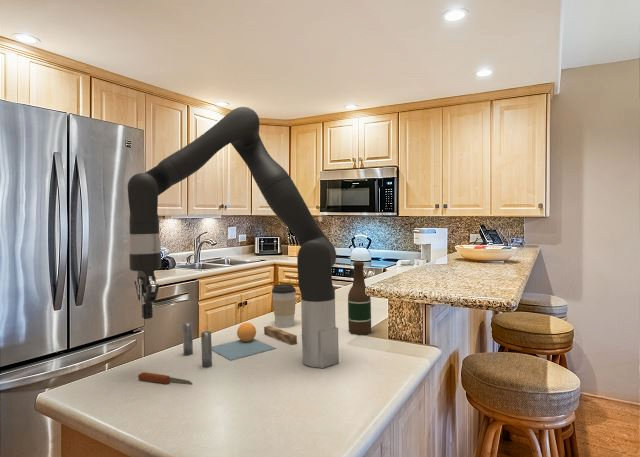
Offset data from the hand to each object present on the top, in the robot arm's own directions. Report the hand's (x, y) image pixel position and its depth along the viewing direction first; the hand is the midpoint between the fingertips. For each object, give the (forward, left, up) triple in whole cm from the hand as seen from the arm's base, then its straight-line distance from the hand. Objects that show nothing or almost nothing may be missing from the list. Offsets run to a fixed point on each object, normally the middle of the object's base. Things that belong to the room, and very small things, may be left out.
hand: (147, 318), depth 102 cm
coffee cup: (+13, -52, -14) cm, 55 cm away
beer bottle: (-13, -65, -14) cm, 68 cm away
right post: (-7, -13, -14) cm, 20 cm away
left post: (+6, -13, -14) cm, 20 cm away
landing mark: (0, -27, -14) cm, 30 cm away
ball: (+5, -32, -11) cm, 34 cm away
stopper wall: (0, -41, -14) cm, 43 cm away
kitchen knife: (-10, -1, -14) cm, 18 cm away
